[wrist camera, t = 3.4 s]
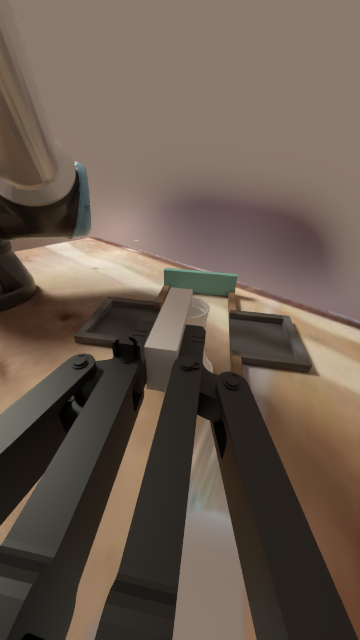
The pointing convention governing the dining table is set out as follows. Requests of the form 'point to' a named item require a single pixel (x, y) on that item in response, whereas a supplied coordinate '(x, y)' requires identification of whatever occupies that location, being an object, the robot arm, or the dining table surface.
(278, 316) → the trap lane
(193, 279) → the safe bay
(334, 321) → the dining table surface
